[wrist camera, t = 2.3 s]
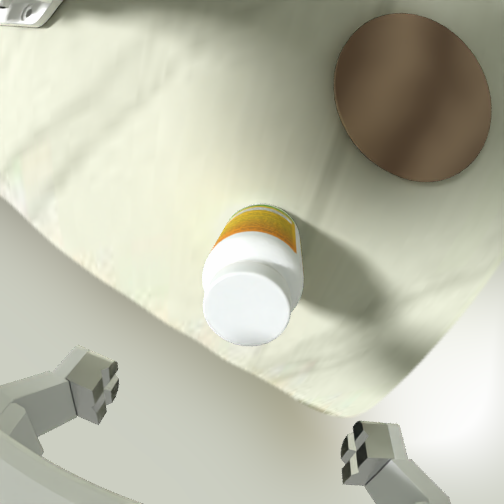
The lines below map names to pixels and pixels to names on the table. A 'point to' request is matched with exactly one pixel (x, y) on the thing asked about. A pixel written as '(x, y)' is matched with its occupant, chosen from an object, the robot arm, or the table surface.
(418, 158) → the walnut coaster
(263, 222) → the supplement bottle
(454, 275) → the table surface
